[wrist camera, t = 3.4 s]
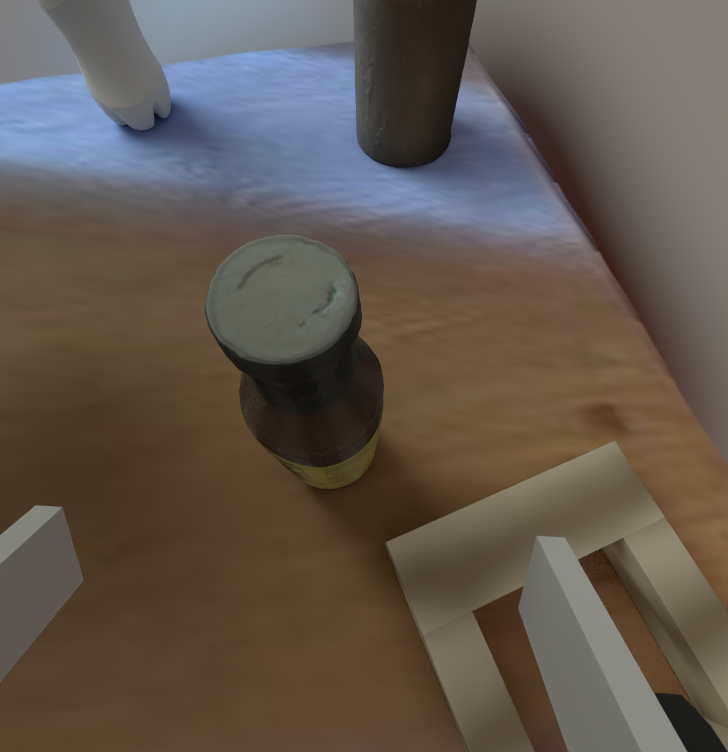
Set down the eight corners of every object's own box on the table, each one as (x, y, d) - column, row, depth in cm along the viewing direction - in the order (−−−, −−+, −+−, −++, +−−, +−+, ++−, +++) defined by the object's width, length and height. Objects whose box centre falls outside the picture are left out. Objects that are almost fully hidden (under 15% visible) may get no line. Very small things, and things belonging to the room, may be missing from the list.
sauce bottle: (281, 417, 30) (150, 208, 11) (364, 398, 30) (366, 170, 12) (296, 506, 27) (161, 422, 9) (386, 484, 28) (431, 361, 10)
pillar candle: (469, 135, 42) (520, -72, 28) (404, 184, 39) (425, -19, 25) (400, 93, 44) (415, -114, 31) (335, 135, 42) (320, -71, 28)
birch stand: (383, 542, 26) (386, 542, 24) (590, 451, 29) (614, 441, 26) (550, 966, 19) (581, 1037, 16) (808, 797, 22) (873, 834, 19)
